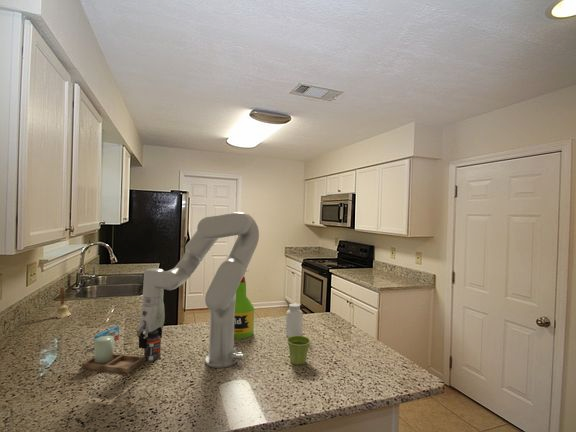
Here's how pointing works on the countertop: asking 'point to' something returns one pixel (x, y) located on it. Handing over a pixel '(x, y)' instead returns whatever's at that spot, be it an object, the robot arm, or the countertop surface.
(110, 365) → the caddy
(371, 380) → the countertop surface
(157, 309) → the robot arm
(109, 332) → the yogurt
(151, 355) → the supplement bottle
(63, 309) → the hand bell
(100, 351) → the pale green cylinder
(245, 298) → the spray bottle
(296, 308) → the pill bottle
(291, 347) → the plant pot
